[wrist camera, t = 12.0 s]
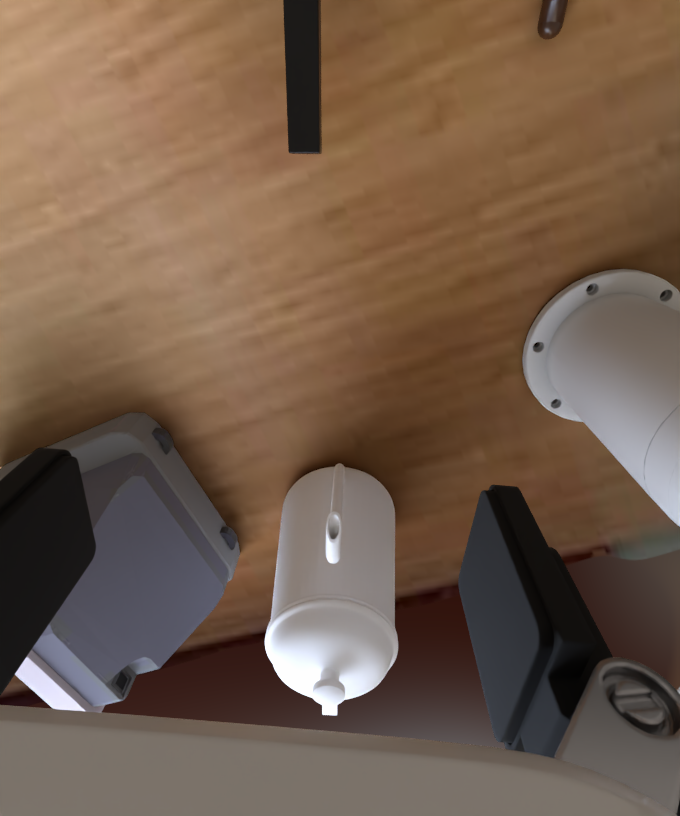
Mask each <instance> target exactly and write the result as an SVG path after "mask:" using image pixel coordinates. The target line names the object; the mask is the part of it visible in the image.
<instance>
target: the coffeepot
mask: <svg viewBox="0 0 680 816" xmlns="http://www.w3.org/2000/svg"><path fill="white" fill-rule="evenodd" d="M394 619H395V509H394V504H393V501H392V498H391V496H390V494H389V493H388V491H387V490H386V489H385V487H384V486H383V485H382V484H381V483H380V482H379V481H378V480H376V479H375V478H374V477H372V476H371V475H369V474H367V473H365V472H363V471H360V470H357V469H353V468H348V467H344V465H343V464H340V463H339V464H336V465H335V467H327V468H322V469H318V470H315V471H312V472H310V473H308V474H306V475H305V476H303V477H302V478H300V479H299V480H298V481H297V482H296V483H295V484H294V485H293V486H292V487H291V488H290V490H289V491H288V493H287V495H286V497H285V500H284V503H283V509H282V518H281V527H280V537H279V546H278V556H277V565H276V575H275V584H274V594H273V603H272V613H271V621H270V622H269V625H268V627H267V631H266V636H265V648H266V652H267V655H268V657H269V659H270V661H271V662H272V663H273V666H274V669H275V671H276V673H277V674H278V676H279V677H280V678H281V680H282V681H283V682H284V683H285V684H286V685H288V686H289V687H290V688H292V689H293V690H295V691H297V692H299V693H301V694H303V695H306V696H308V697H312V698H313V699H314V700H315V701H316V702H317V703H319V704H321V705H322V714H323V715H337V705H338V704H340V703H341V702H343V700H346V699H350V698H355V697H358V696H360V695H363V694H365V693H367V692H369V691H370V690H372V689H373V688H375V687H376V686H377V685H378V684H379V683H380V682H381V681H382V679H383V678H384V677H385V675H386V673H387V671H388V670H389V669H390V667H391V666H392V665H393V663H394V661H395V659H396V657H397V653H398V639H397V633H396V630H395V625H394V623H395V620H394Z"/></svg>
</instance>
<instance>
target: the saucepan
mask: <svg viewBox="0 0 680 816" xmlns="http://www.w3.org/2000/svg"><path fill="white" fill-rule="evenodd" d="M283 2H284V31H285V60H286V89H287V117H288V146H289V153H292V154H321V153H322V137H321V0H283Z"/></svg>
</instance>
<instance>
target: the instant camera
mask: <svg viewBox="0 0 680 816" xmlns="http://www.w3.org/2000/svg"><path fill="white" fill-rule="evenodd" d="M173 445H174V443H173V439H172V438H171V436H170V435H169V433H168V432H167V431H166V430H165V429H163V428H161V427H160V425H159V424H158V423H157V422H156V421H155V420H153V419H152V418H151V417H149V416H148V415H147V414H145V413H127V414H124V415H122V416H119V417H117V418H115V419H112V420H110V421H107V422H105V423H103V424H100V425H98V426H96V427H93V428H91V429H88V430H86V431H84V432H81V433H79V434H76V435H74V436H72V437H69V438H67V439H65V440H62V441H60V442H57V443H55V444H53V445H50V446H48V447H45V448H54V449H65V450H68V451H69V452H70V453H71V456H73V457H76V458H77V460H78V463H79V468H80V472H81V477H82V482H83V486H84V491H85V496H86V500H87V505H88V510H89V514H90V519H91V524H92V528H93V533H94V538H95V542H96V551H95V555H94V558H93V560H92V562H91V563H90V564H89V566H88V567H87V569H86V570H85V572H84V573H83V575H82V576H81V578H80V579H79V581H78V582H77V584H76V585H75V586H74V588H73V589H72V591H71V592H70V594H69V595H68V597H67V598H66V600H65V601H64V603H63V604H62V606H61V607H60V609H59V610H58V611H57V613H56V614H55V616H54V617H53V619H52V620H51V622H50V623H49V625H48V626H47V628H46V629H45V631H44V632H43V634H42V635H41V636H40V638H39V639H38V641H37V642H36V644H35V645H34V647H33V648H32V650H31V651H30V653H29V654H28V656H27V657H26V659H25V660H24V661H23V663H22V664H21V666H20V667H19V669H18V670H17V672H16V673H15V675H16V676H17V677H18V678H19V679H21V680H22V681H23V682H24V683H25V684H26V685H27V686H28V687H30V688H31V689H32V690H33V691H34V692H35V693H36V694H37V695H38V696H40V697H41V698H42V699H43V700H44V701H45V702H46V703H47V704H49V705H50V706H51V707H52V708H53V709H61V710H74V711H87V712H100V713H101V712H102V710H103V708H104V706H105V705H106V704H110V703H114V702H118V701H122V700H124V699H125V698H126V697H127V695H128V693H129V691H130V689H131V686H132V684H133V681H134V680H135V677H136V675H137V674H141V673H144V672H148V671H152V670H156V669H159V668H160V667H161V666H162V665H163V664H164V663H165V662H166V661H167V660H168V659H169V657H170V656H171V655H172V654H173V653H174V652H175V651H176V650H177V649H178V648H179V646H180V645H181V644H182V643H183V642H184V641H185V640H186V639H187V638H188V637H189V636H190V634H191V633H192V632H193V631H194V630H195V629H196V628H197V627H198V626H199V625H200V623H201V622H202V621H203V620H204V619H205V618H206V617H207V616H208V615H209V614H210V612H211V611H212V610H213V609H214V608H215V606H216V605H217V603H218V602H219V600H220V599H221V597H222V596H223V593H224V590H225V587H226V584H227V582H228V581H229V580H231V579H232V578H233V574H234V571H235V568H236V565H237V562H238V558H239V555H240V551H239V543H238V542H237V535H236V534H235V532H234V531H233V529H231V528H230V527H227V525H226V524H225V522H224V521H223V519H222V518H221V516H220V515H219V513H218V512H217V510H216V509H215V507H214V506H213V504H212V503H211V501H210V500H209V498H208V497H207V495H206V494H205V492H204V491H203V489H202V488H201V486H200V485H199V483H198V482H197V480H196V479H195V477H194V476H193V474H192V473H191V471H190V470H189V468H188V467H187V466H186V464H185V463H184V461H183V460H182V458H181V457H180V455H179V454H178V452H177V451H176V449H175V448H174V446H173ZM29 455H30V454H29ZM29 455H26V456H24V457H22V458H19V459H17V460H14V461H12V462H10V463H7V464H6V465H4V466H3V467H2V468H1V469H0V480H1V479H2V478H4V477H5V476H6V475H7V474H8V473H9V472H11V471H12V470H13V469H14V468H15V467H16V466H17V465H19V464H20V463H21V462H22V461H23V460H24V459H25V458H27V457H28V456H29Z"/></svg>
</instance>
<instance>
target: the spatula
mask: <svg viewBox="0 0 680 816" xmlns="http://www.w3.org/2000/svg"><path fill="white" fill-rule="evenodd" d="M567 3H568V0H543V4H542V8H541V13H540V18H539V22H538V33H539V35H540V37H541V38H543V39H552V38H554V37H555V36H556V35H557V34H558V33H559V32H560V30H561V28H562V25H563V21H564V16H565V12H566V8H567Z"/></svg>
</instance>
